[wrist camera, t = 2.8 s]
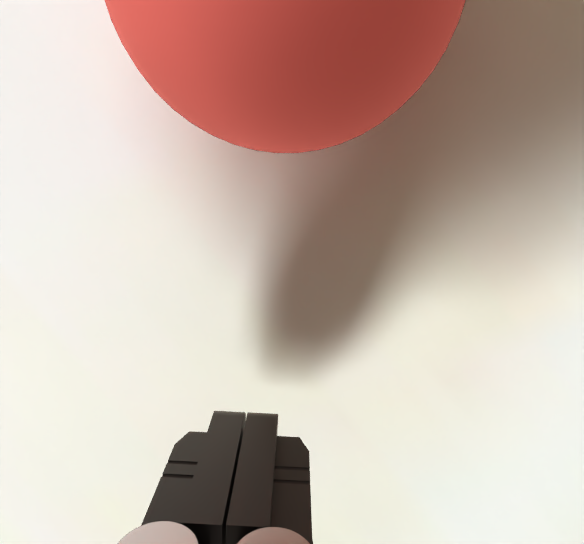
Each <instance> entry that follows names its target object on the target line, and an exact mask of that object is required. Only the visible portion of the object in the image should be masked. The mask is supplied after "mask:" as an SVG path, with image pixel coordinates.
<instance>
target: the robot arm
mask: <svg viewBox="0 0 584 544" xmlns="http://www.w3.org/2000/svg"><path fill="white" fill-rule="evenodd" d="M277 428H278V414H266V413H247V418H246V413H245V412H226V411H214V413H213V416H212V419H211V422H210V426H209V429H208V432H188V433H187V434H186V435H185V436H184V437H183V438H182V439H180V440H179V441H178V442H177V443H176V444H175V445H174V448H173V450H172V452H171V455H170V457H169V460H168V463H167V465H166V467H165V469H164V472H163V476H162V477H161V479H160V481H159V484H158V486H157V489H156V491H155V494H154V496H153V498H152V501H151V503H150V506H149V508H148V510H147V513H146V515H145V518H144V520H143V522H142V525H141V526H140V527H138V528H135V529H134V530H132V531H131V532H129V533H128V534H126V535H125V536H124V537H123V538H122V539H121V540H120V541H119V542H118V544H313V541H312V523H311V495H310V471H309V469H310V466H309V451H308V449H307V448H306V446H305V445H304V443H303V442H302V440H301V439H300V437H284V436H277Z"/></svg>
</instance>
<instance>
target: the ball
mask: <svg viewBox="0 0 584 544" xmlns="http://www.w3.org/2000/svg"><path fill="white" fill-rule="evenodd" d="M465 1H466V0H105V2H106V5H107V9H108V12H109V15H110V18H111V20H112V23H113V25H114V27H115V29H116V31H117V33H118V36H119V38H120V40H121V42H122V44H123V46H124V47H125V49H126V51H127V52H128V54H129V56H130V57H131V59H132V61H133V62H134V64H135V65H136V67H137V69H138V70H139V72H140V73H141V74H142V76H143V77H144V78H145V79H146V81H147V82H148V83H149V84H150V86H151V87H152V88H153V90H154V91H155V92H156V93H157V94H158V95H159V96H160V97H161V98H162V99H163V100H164V101H165V102H166V103H167V104H168V105H169V106H170V107H171V108H172V109H174V110H175V111H176V112H178V113H179V114H180V115H181V116H183V117H184V118H185V119H187V120H188V121H189V122H191V123H192V124H194V125H196V126H197V127H199V128H201V129H202V130H204V131H206V132H208V133H209V134H211V135H213V136H215V137H218V138H220V139H222V140H225V141H227V142H229V143H232V144H234V145H238V146H242V147H245V148H249V149H253V150H258V151H265V152H273V153H300V152H308V151H315V150H320V149H324V148H328V147H331V146H335V145H338V144H341V143H344V142H346V141H348V140H351V139H353V138H355V137H358V136H360V135H362V134H363V133H365V132H367V131H369V130H370V129H372V128H374V127H375V126H377V125H379V124H380V123H381V122H383V121H384V120H385V119H387V118H388V117H389V116H390V115H392V114H393V113H394V112H396V111H397V110H398V109H399V108H400V107H401V106H402V105H403V104H404V103H405V102H406V101H407V100H408V99H409V98H410V97H411V96H412V95H413V94H414V93H415V92H416V91H417V90H418V89H419V88H420V87H421V85H422V84H423V83H424V82H425V80H426V79H427V78H428V77H429V75H430V74H431V73H432V71H433V70H434V68H435V67H436V65H437V64H438V62H439V60H440V59H441V57H442V55H443V54H444V52H445V50H446V49H447V47H448V44H449V42H450V40H451V38H452V36H453V33H454V31H455V29H456V27H457V25H458V22H459V19H460V17H461V14H462V10H463V7H464V4H465Z"/></svg>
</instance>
